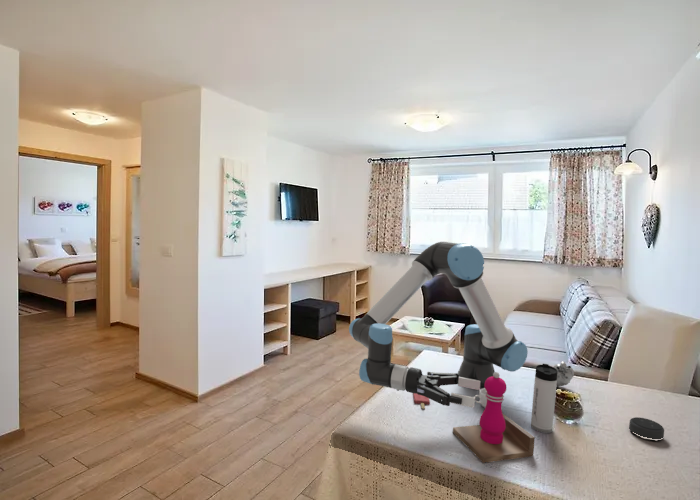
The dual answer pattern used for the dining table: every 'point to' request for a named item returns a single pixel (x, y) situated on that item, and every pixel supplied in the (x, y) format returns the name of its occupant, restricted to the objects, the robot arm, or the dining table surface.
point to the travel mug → (544, 398)
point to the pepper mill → (493, 411)
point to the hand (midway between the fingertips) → (477, 393)
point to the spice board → (512, 447)
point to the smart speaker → (646, 428)
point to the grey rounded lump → (563, 374)
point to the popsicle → (421, 400)
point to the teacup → (482, 397)
